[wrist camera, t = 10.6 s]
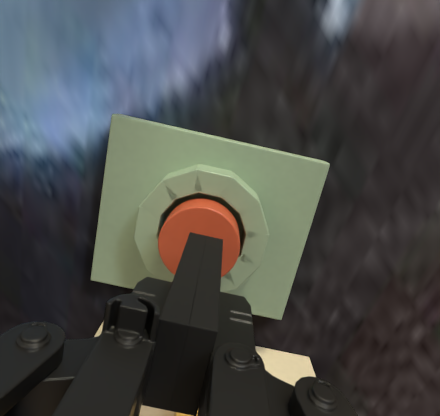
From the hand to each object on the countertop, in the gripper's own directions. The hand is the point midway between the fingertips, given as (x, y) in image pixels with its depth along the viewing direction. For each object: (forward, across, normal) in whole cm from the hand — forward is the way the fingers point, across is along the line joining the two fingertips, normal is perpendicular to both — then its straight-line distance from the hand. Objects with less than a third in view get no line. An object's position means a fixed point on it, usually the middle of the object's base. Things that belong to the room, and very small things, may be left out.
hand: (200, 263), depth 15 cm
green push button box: (+6, 0, 0) cm, 6 cm away
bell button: (+3, 0, 0) cm, 3 cm away
